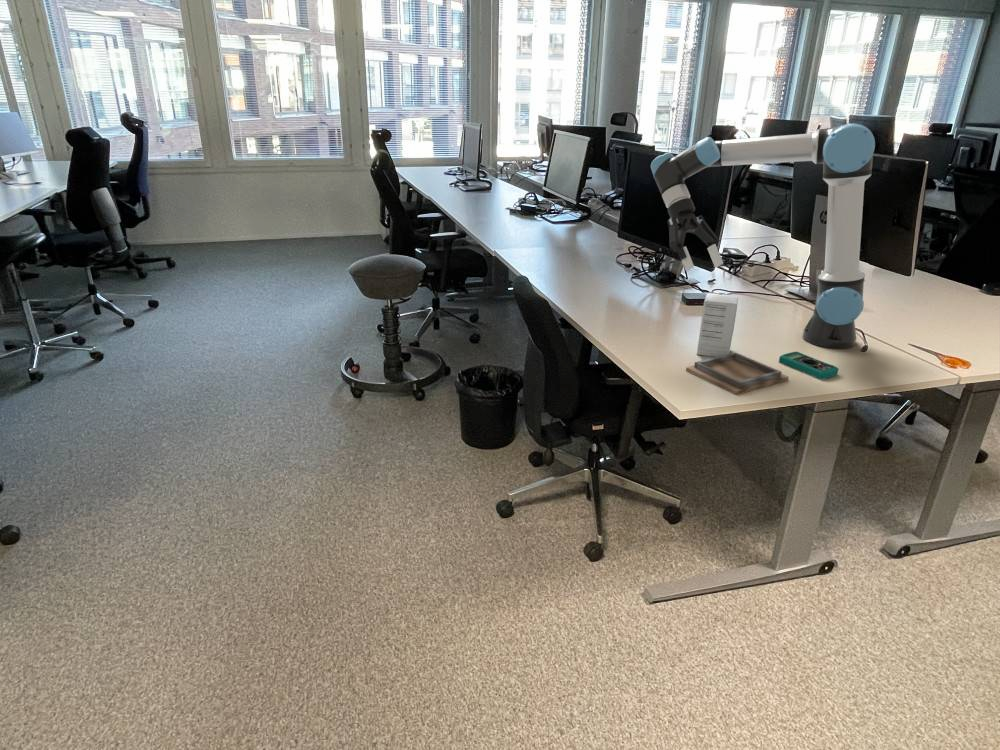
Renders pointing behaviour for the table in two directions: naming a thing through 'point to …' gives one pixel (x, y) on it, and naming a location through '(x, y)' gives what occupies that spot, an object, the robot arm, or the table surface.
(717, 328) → the supplement box
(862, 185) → the robot arm
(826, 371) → the digital multimeter
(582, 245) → the table surface
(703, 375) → the carrier plate
